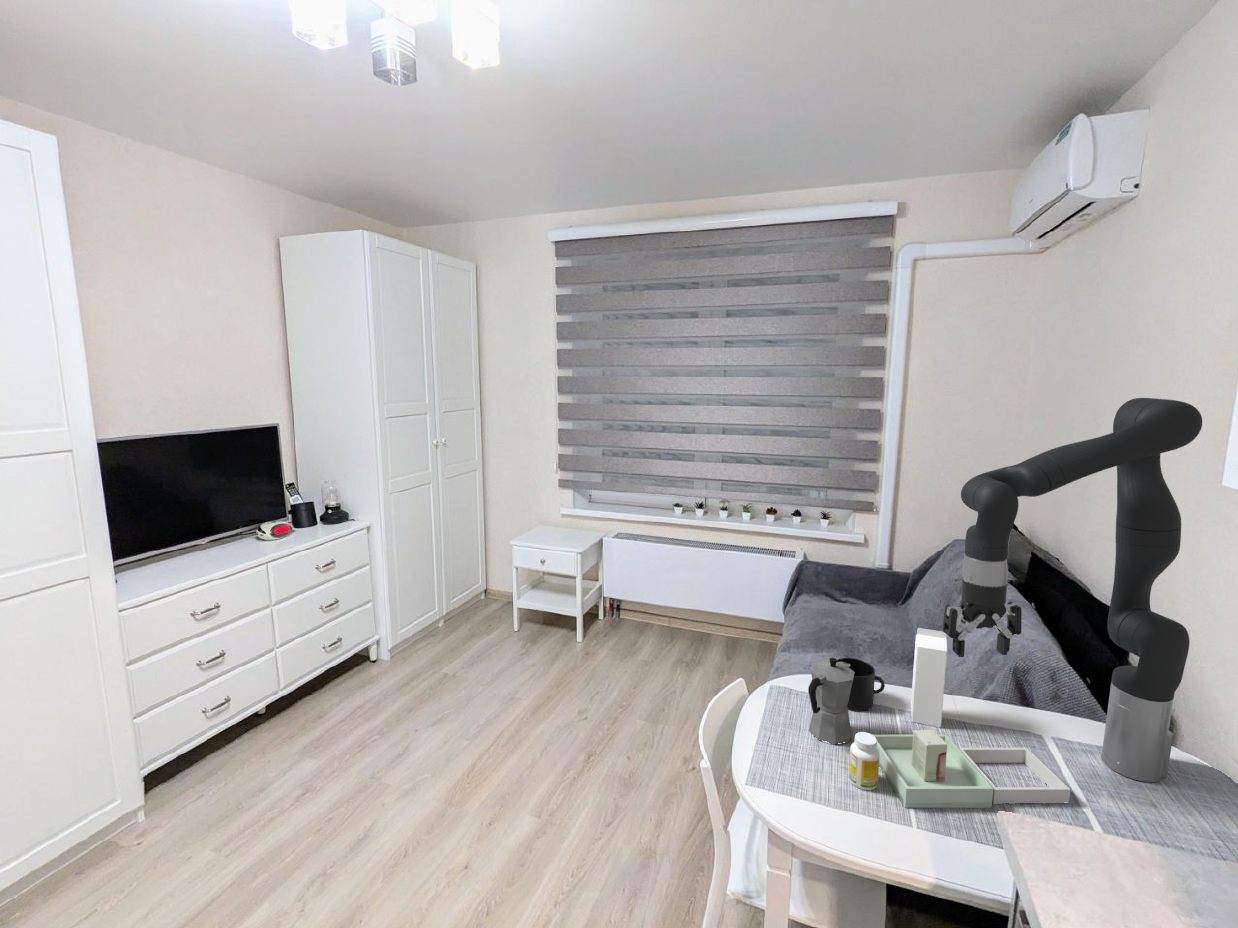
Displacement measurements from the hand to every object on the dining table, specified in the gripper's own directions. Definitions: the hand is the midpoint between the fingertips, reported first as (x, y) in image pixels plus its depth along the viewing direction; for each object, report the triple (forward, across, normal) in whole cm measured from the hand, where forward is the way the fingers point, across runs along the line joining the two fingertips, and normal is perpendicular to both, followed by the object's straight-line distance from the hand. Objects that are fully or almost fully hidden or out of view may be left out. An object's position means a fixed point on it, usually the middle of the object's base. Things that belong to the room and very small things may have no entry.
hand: (980, 654), depth 115 cm
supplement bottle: (+23, +26, +6) cm, 35 cm away
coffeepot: (+23, +28, -9) cm, 37 cm away
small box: (+22, +12, +5) cm, 26 cm away
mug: (+24, +15, -22) cm, 36 cm away
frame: (+24, -3, +6) cm, 25 cm away
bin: (+24, +13, +5) cm, 27 cm away
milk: (+24, +2, -15) cm, 29 cm away
